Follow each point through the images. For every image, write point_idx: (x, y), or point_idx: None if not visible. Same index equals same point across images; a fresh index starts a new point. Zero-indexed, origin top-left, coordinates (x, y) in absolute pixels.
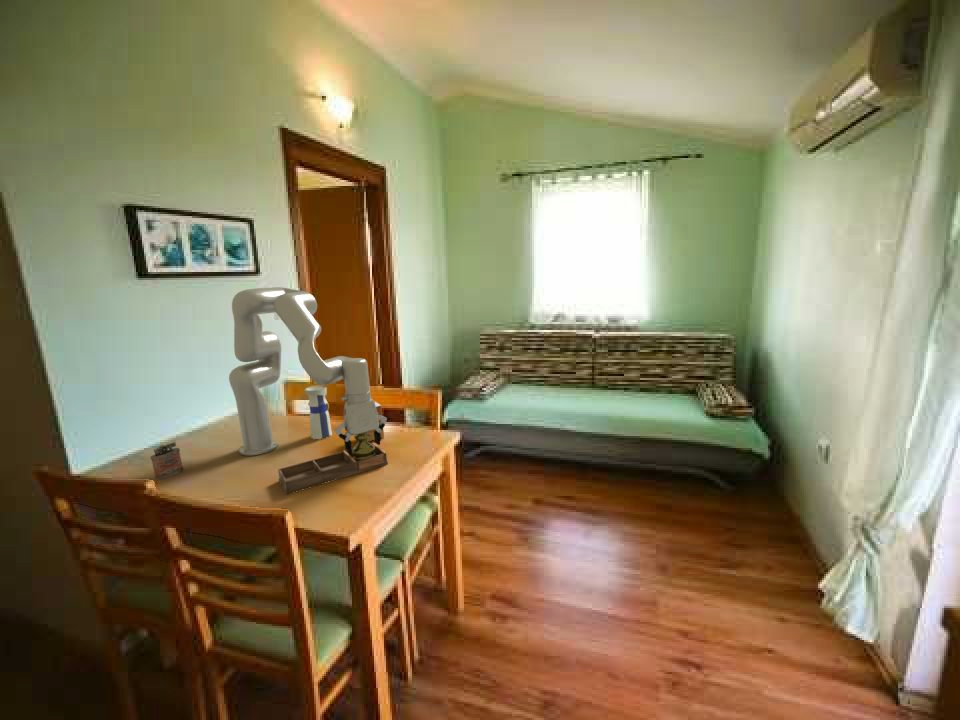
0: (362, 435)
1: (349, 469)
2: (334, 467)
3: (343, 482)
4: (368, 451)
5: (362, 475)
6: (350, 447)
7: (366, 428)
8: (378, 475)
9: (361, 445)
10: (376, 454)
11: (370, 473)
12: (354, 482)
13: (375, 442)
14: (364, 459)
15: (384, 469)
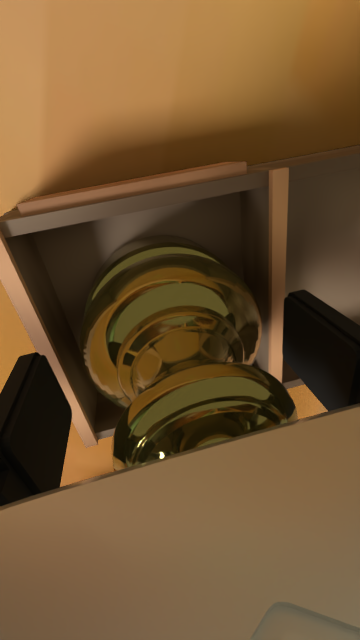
0: (224, 417)
1: (301, 160)
2: (322, 293)
3: (345, 68)
4: (149, 268)
5: (211, 110)
6: (323, 310)
7: (198, 528)
8: (98, 15)
9: (209, 338)
10: (80, 355)
11: (153, 110)
12: (291, 5)
13: (66, 402)
14: (196, 187)
15: (39, 120)
